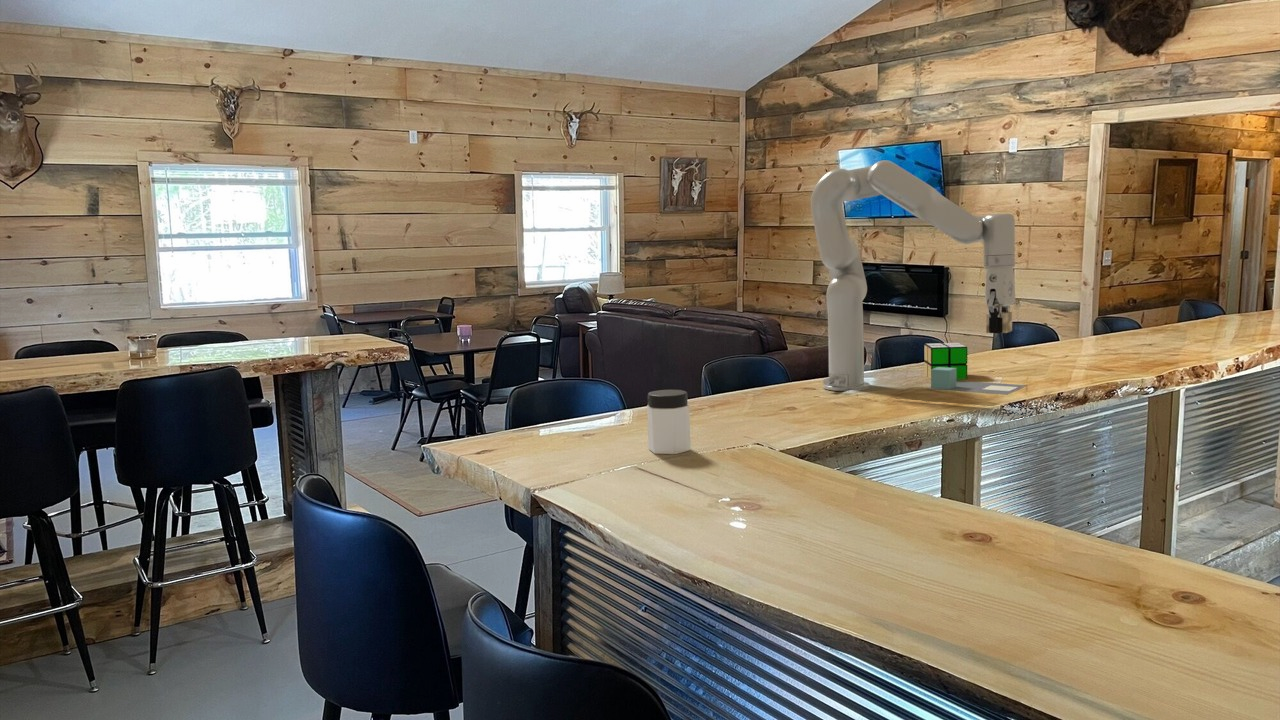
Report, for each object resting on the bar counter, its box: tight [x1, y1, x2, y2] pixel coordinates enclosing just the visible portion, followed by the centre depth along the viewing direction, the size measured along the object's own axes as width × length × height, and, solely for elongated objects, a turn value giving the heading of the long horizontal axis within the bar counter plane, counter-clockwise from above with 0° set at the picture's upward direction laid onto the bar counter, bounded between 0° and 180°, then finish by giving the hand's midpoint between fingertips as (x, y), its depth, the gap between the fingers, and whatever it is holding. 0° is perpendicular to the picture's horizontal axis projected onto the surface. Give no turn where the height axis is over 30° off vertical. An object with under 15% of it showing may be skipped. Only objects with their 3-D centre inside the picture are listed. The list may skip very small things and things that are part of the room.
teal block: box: [930, 367, 957, 389], centre depth 248 cm, size 5×5×5 cm
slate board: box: [926, 380, 1028, 396], centre depth 247 cm, size 16×21×1 cm
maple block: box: [985, 311, 1013, 334], centre depth 241 cm, size 5×5×5 cm
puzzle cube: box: [923, 342, 968, 380], centre depth 266 cm, size 10×10×10 cm
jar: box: [646, 389, 692, 455], centre depth 190 cm, size 9×8×12 cm
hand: (999, 331), depth 241 cm, fingers closed on maple block, 5 cm apart
